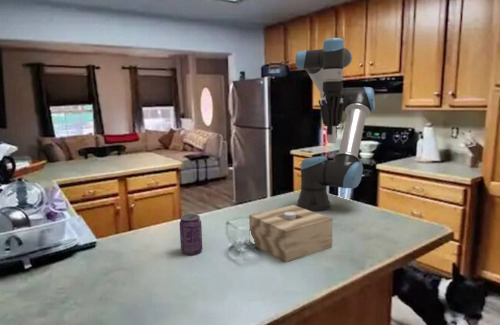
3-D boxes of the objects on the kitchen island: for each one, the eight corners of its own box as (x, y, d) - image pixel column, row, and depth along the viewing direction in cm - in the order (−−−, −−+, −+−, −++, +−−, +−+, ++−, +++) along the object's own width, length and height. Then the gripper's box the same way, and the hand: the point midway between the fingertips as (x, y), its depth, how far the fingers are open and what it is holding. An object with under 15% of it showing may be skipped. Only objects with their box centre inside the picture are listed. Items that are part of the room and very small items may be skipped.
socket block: (249, 242, 127) (249, 214, 126) (293, 230, 138) (293, 204, 136) (286, 262, 111) (286, 231, 109) (331, 246, 122) (332, 218, 120)
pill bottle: (297, 244, 121) (297, 216, 119) (281, 243, 122) (281, 215, 120) (297, 238, 126) (297, 211, 125) (282, 237, 127) (282, 210, 125)
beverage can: (194, 245, 125) (192, 212, 123) (206, 251, 120) (205, 216, 118) (176, 251, 120) (174, 217, 118) (189, 257, 115) (187, 222, 113)
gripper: (327, 80, 130) (326, 145, 134) (352, 80, 138) (350, 142, 141) (313, 81, 136) (312, 143, 140) (337, 81, 144) (336, 140, 148)
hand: (331, 142), depth 141 cm, fingers closed
